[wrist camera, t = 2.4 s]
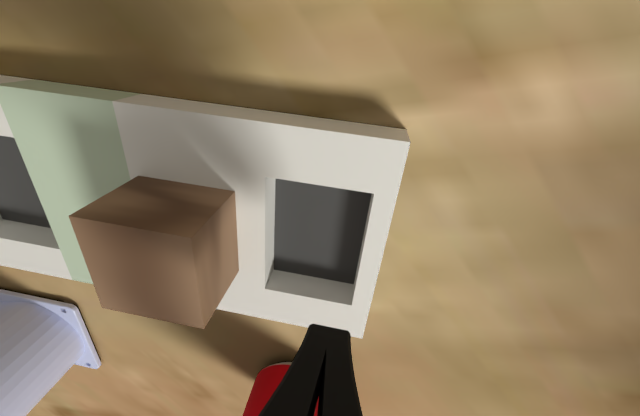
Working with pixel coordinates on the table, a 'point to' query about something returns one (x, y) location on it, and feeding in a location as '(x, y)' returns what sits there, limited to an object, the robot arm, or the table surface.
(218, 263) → the block
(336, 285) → the trap board
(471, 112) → the table surface
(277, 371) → the beverage can
